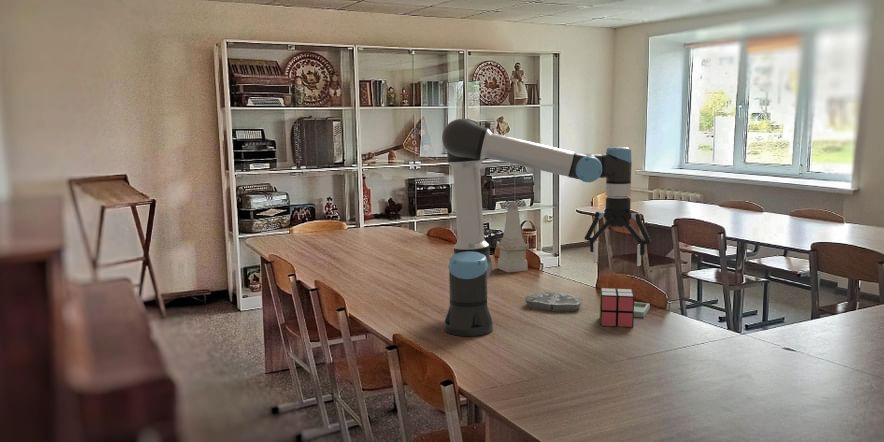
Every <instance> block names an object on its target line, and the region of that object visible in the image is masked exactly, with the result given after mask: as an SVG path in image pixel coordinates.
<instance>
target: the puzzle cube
mask: <svg viewBox="0 0 884 442" xmlns="http://www.w3.org/2000/svg"><path fill="white" fill-rule="evenodd" d="M599 295H600V298H599V303H600V304H599V325H600V326H601V327H611V326H615V327H618V328H634V318H635V317H634V312H633V311H634V302H635V295H634V292H633V289H632V288H631V289H630V288H604V287H602V288H600V292H599ZM615 327H614V328H615Z"/></svg>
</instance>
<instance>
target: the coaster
mask: <svg viewBox="0 0 884 442" xmlns="http://www.w3.org/2000/svg"><path fill="white" fill-rule="evenodd" d="M650 306H651V304H650V303H647V302H636V301H634V311H633V312H634V318H635V317H636V318H642V317H643V319H644V318H645V316H646V315H647V313H648V312H649V310H650V308H651V307H650Z"/></svg>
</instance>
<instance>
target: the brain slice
mask: <svg viewBox="0 0 884 442" xmlns="http://www.w3.org/2000/svg"><path fill="white" fill-rule="evenodd" d="M524 298H525V299H524V301H525V303H526V304H527V306H528V307H530V308H531V309H534V310H540V311H546V312H547V311H548V312H559V311H560V312H575V311H576V310H577V309H578V308H579V307H580V306H581V304H582V302H583V298H580V297H579V296H577V295H573V294H571V293H565V292H558V293H557V292H556V293H555V292H550V291H549V292H546V291H545V292H539V293H538V292H537V293H536V294H532V295H528V296H526V297H524Z"/></svg>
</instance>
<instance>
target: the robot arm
mask: <svg viewBox="0 0 884 442" xmlns="http://www.w3.org/2000/svg"><path fill="white" fill-rule="evenodd" d="M441 135H442V137H441V140H442V141H441V142H442V144H443V148H444V149H445V151H446V155H447V156H446V157H447V164H448V165H449V166H451V167H452V173H453V174H452V175H453V188H454V189H453V190H454V205H455V206H454V207H455V216H456V217H455V219H456V220H455V221H456V234H457V241H456V243H455V244H454V245H453V255H451V256H450V257H449V263H448V271H449V280H448V281H449V285H448V286H449V291H448V292H449V306H448V309H447V312H446V315H445V320H444V321H443V330H444V331H445V332H446V333H447V334H450V335H453V336H460V337H479V336H484V335H487V334H490V333H491V332H493V330H494V321H493V319H492V315H491V312H490V310H489V307H488V306H489V305H488V280H489V278H490V277H491V274H492V270H493V262H492V259H491V256H490V255H491V254H490V244H489V243H488V242H487V241H486V239H485V235H484V234H485V231H484V215H483V214H484V213H483V204H482V203H483V201H482V183H481V169H480V168H481V167H480V166H481V165H482V163H484V161H485V159H491V160H496V161H500V162H503V163H507V164H512V165H517V166H520V167H525V168H528V169H532V170H539V171H543V172H546V173H551V174H554V175H555V174H556V175H559V176H563V177H568V178H571V179H575V180H580V181H582V182H584V183H593V182H595V181H597V180H598V179H600V178H601V179H605V195H606V196H607V197H606V198H605V211H603V212H601V211H599V210H598V211H596V212H595V214H594V219H593V221H592V223H591V225H590V226H589V228H588V230H587V232H586V233H585V236H584V240H585V241H588V242H589V245H590V246H589V248H590V249H589V251H590V252H591V253H593V255H592V256H593V258H592V260H593V261H592V262H593V264H597V263H598V255H599V254H598V251H599V247H598V244H599V243H598V241H596V240H597V239H598V238H599V237H600V236H601V235H602V234H603V232H605V230H606V229H607V228H608V227H618V228H623V227H625V228H626V229H627V231H629V233H630V234H631V235H632V237H634V239H635V240H636V241H637V242H638V243H639V244H637V247H636V248H637V249H636V250H637V253H636V257H637V258H636V266H637V267H640V266H641V265H642V256H644V255H645V253H646V245H649V244H650V243H651V242H652V238H651V237H650V235H649V232H648V230H647V229H646V226H645V224H644V222H643V219H642V214H641V212H637V213H632V211H631V204H632V203H631V202H632V201H631V198H630V196H631V195H632V164H633V162H632V150H631V148H629V147H627V146H613V147H612V146H610V147H607V148H606V151H605V153H580V152H575V151H571V150H567V149H564V148H558V147H554V146H550V145H546V144H541V143H538V142H533V141H529V140H524V139H521V138H515V137H511V136H507V135H502V134H499V133H493V132H492V131H491V130H490V129H489V128H488V127H483V126H481V125H480V123H479V124H478V122H477V121H475V120H473V119H470V118H459V119H454V120H452V121H450V122H449V123H447V125H446V126H445V127H444V129H443V131H442V134H441ZM603 217H604V219H605V220H606V221H605V223H604V224H603V225H602V226H601V227H600V228H599V229H598V231H597V232H595V234H593V233H594V231H595V229H596V227H597V225H598V223H599V221H600V219H602V218H603ZM632 218H633V220H634V221H635V222H636V224H637V226H638V228H639V230H640V232H641V234H640V233H639V232H638V231H637V229H635V227H634V226H633V224H632V222H630V220H631V219H632ZM592 235H593V236H592ZM641 235H642V236H641Z"/></svg>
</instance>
